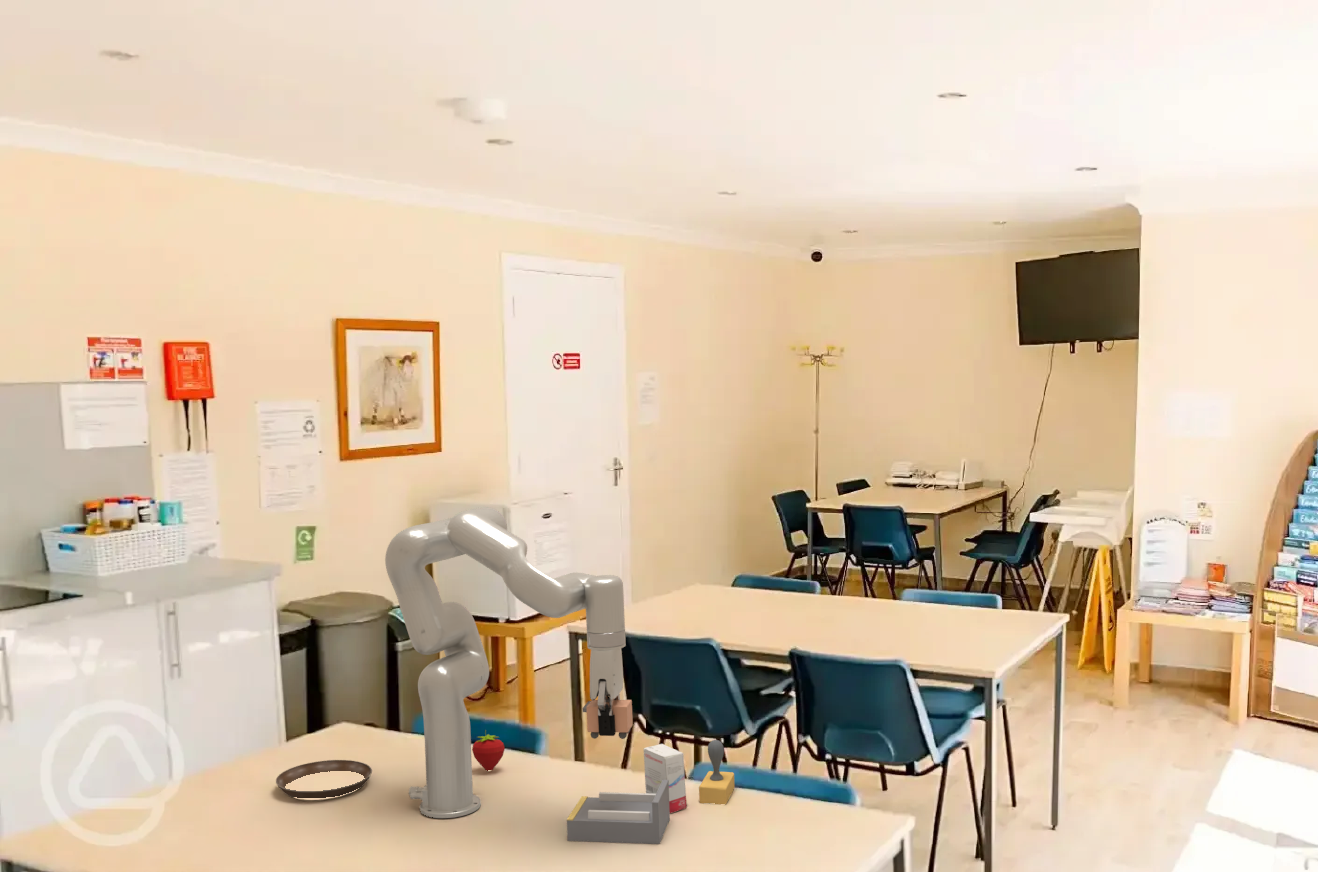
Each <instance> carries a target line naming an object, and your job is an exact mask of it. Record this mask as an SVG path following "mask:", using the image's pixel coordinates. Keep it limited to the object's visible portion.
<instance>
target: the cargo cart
mask: <svg viewBox="0 0 1318 872" xmlns="http://www.w3.org/2000/svg"><path fill="white" fill-rule="evenodd" d="M606 704H608V706H609V702H606ZM632 704H633V701H632V699H620V700H613V715H615V732H616V733H618V738H619V739H621V740H624V739H626V737H627V735H628V734H629V733H630V732H631V728H632V727H633V726H634V725H633V723H634V722H633V705H632ZM582 713H586V723H587V725H586V726H587V733H590V737H591V738H592V739H597V738H599V736H600V735H599V725H598V699H595V700H588V701H587V702H586V703H585V705H583V706H582Z"/></svg>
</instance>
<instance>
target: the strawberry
mask: <svg viewBox="0 0 1318 872" xmlns="http://www.w3.org/2000/svg"><path fill="white" fill-rule="evenodd" d="M484 734H485V736H483V735H482V736H480V735H479V736H477V738H478V740H476V741H475V742H474V743H473V745H472V747H471V752H472V754H473V756H474V759H475V760H476V761H477V762H478V764H479V765H480V766H481V767H482V768H483V769H484V770H485V771H486V770H487V771H488V770H492V771H493V770H494V768H496V766H497V765H498V764H499V762H500V761H501V759H502V758H503V756H504V752H505V744H504V742H502V740H500V739H498V738H499V736H496V735H490V734H489V733H488V734H487V730H486V729H485V731H484ZM487 771H486V772H487Z"/></svg>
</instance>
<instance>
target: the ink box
mask: <svg viewBox="0 0 1318 872" xmlns="http://www.w3.org/2000/svg"><path fill="white" fill-rule="evenodd" d="M643 761H644V762H643V764H644V782H645V783H644V784H645V793H649V794H656V793H657V791H658V789H659V787H660V784H661V782H662V780H669V810H670V814H672V813H676V812H678V811H682V810H684V809H687V808H688V806H687V793H686V776H685V774H686V773H685V761H684V752H682V751H680V750H677V749H674V748H673V747H670V746H668V745H666V744H663V743H659V744H655V745H651V746H647V747H644V748H643Z"/></svg>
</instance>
